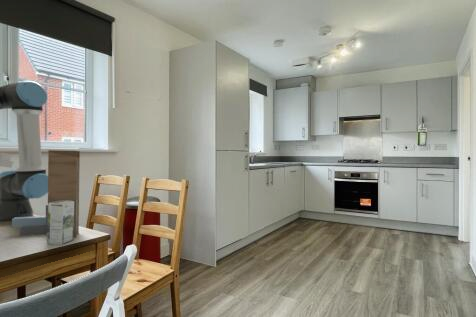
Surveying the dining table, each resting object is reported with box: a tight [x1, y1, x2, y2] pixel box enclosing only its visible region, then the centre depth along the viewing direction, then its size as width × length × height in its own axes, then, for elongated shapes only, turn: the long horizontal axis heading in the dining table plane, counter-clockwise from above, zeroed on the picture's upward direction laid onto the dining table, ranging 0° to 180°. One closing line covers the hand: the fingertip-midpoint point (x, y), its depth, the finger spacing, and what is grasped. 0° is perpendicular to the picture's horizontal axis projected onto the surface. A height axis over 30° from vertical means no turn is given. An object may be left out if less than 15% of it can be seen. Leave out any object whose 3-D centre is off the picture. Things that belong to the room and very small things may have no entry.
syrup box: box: [46, 200, 74, 245], centre depth 101 cm, size 6×6×14 cm
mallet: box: [11, 203, 48, 228], centre depth 114 cm, size 17×4×8 cm, turn 112°
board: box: [19, 225, 47, 237], centre depth 115 cm, size 7×14×3 cm, turn 112°
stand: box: [46, 149, 81, 239], centre depth 109 cm, size 8×9×32 cm
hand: (11, 161), depth 114 cm, fingers open, 13 cm apart
